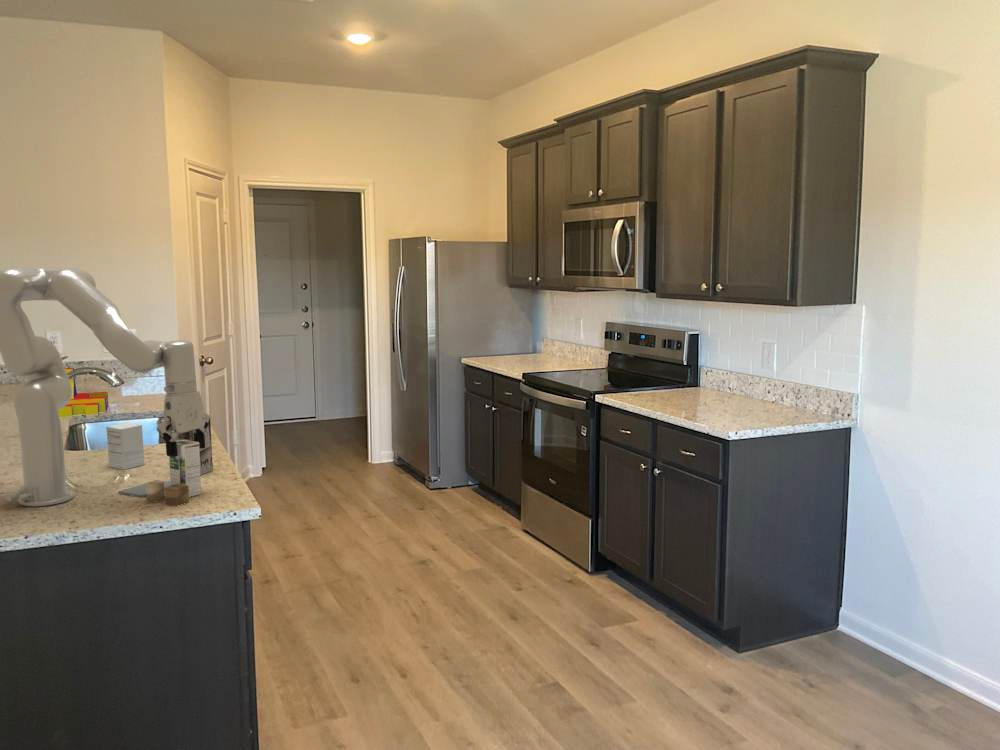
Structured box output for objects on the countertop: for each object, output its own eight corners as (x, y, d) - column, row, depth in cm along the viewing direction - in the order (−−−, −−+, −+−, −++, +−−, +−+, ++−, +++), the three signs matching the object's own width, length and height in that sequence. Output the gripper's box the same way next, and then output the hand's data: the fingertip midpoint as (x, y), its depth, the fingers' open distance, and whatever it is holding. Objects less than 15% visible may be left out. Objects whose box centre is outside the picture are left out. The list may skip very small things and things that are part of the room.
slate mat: (143, 497, 214) (142, 495, 214) (118, 493, 217) (118, 491, 217) (180, 485, 225) (180, 483, 225) (156, 482, 229) (156, 479, 229)
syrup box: (169, 496, 215) (166, 442, 213) (189, 490, 220) (186, 438, 218) (183, 499, 212) (180, 445, 210) (202, 494, 217) (199, 441, 215)
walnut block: (177, 506, 206) (176, 489, 206) (165, 504, 208) (164, 487, 207) (189, 502, 210) (188, 485, 209) (177, 500, 211) (176, 483, 211)
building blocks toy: (52, 419, 323) (48, 374, 321) (59, 409, 346) (56, 367, 343) (104, 416, 330) (101, 371, 328) (108, 406, 353) (105, 364, 351)
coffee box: (214, 470, 242) (211, 417, 240) (200, 475, 236) (197, 421, 234) (187, 468, 245) (185, 415, 243) (173, 473, 239) (170, 419, 236)
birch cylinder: (155, 503, 209) (154, 486, 208) (142, 501, 211) (141, 484, 210) (168, 498, 213) (167, 481, 212) (156, 496, 215) (155, 480, 214)
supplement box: (130, 462, 252) (127, 422, 251) (145, 465, 249) (142, 424, 247) (108, 467, 246) (105, 426, 244) (123, 470, 242) (120, 428, 241)
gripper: (166, 393, 203) (171, 460, 205) (216, 383, 219) (220, 446, 221) (144, 392, 206) (149, 458, 208) (195, 382, 222) (199, 444, 224)
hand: (186, 452), depth 215 cm, fingers open, 9 cm apart
